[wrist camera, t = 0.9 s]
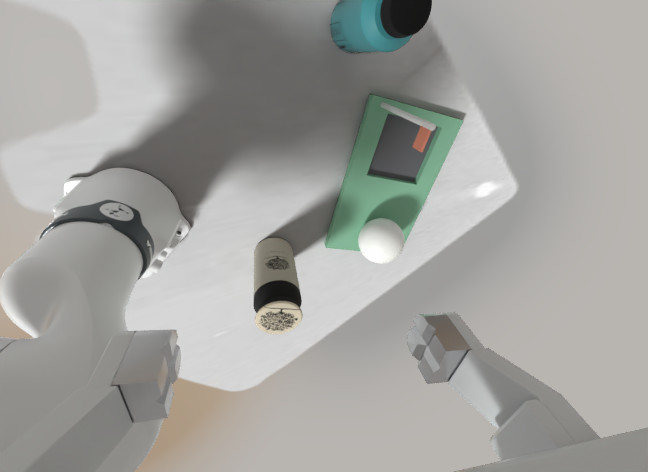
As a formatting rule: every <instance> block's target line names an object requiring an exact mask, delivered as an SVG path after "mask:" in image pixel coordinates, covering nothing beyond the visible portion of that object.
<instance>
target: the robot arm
mask: <svg viewBox="0 0 648 472" xmlns="http://www.w3.org/2000/svg"><path fill="white" fill-rule="evenodd" d="M53 211H54V212H55V216H54V217H55V219H54V220H53V221H52V222H51V223H50V224H49V225H48V226H47V227H46V229H45V230H44V231H43V233H42V234H41V236H40V239H39V240H38V241H37V242H36V243H35V244H34V245H33V246H32V247H30V248H29V249H28V250H27V251H26V252H25V253H24V254H22V255H21V256H20V257H19V258H18V259H17V260H16V261H15V262H13V263H12V264H11V265H10V266H9V267H8V268H7V269H6V270H5V272H4V274H3V275H2V277H1V279H0V303H1V306H2V307H3V309H4V311H5V312H6V314H7V315H8V317H9V318H10V319H11V320H12V321H13V322H14V323H15V324H16V325H17V326H18V327H20V328H21V329H23V330H24V331H25V332H27V333H28V334H29V335H31V336H32V337H33V338H34V339H12V338H5V337H0V472H135V470H136V469H137V468H138V467H139V466H140V464H141V463H142V462H143V460H144V459H145V458H146V456H147V455H148V453H149V452H150V450H151V448H152V446H153V444H154V443H155V441H156V439H157V436H158V434H159V431H160V429H161V425H162V422H163V418H168V414H169V410H170V406H171V403H172V399H173V395H174V393H173V388H172V384H173V383H174V382H175V381H176V380H177V378H178V374H179V369H180V360H181V353H180V347H179V346H178V345H176V342H177V338H178V336H177V332H176V330H150V331H127V327H126V323H125V311H126V306H127V303H128V300H129V298H130V295H131V292H132V290H133V288H134V285H135V283H136V281H137V280H138V279H140V278H147V277H150V276H151V275H152V274H153V273H157V272H158V271H159V269H160V268H161V266H162V264H163V261H164V260H165V259H166V258H167V256H168V255H169V254H170V253H171V252H172V251H173V250H174V248H175V247H176V246H177V245H178V244H179V243H180V241H181V240H182V239H183V238H184V237H185V236H186V234H187V233H188V232H189V230H190V228H191V227H190V224H189V223H188V221H187V220H186V219H185V218H184V217H183V216H182V214H181V212H180V209H179V206H178V203H177V200H176V198H175V197H174V195H173V194H172V192H171V191H170V190H169V189H168V188H167V187H166V186H165V185H164V184H163V183H162V182H160V181H159V180H157V179H156V178H154V177H152V176H151V175H149V174H146V173H144V172H141V171H138V170H134V169H129V168H110V169H106V170H102V171H100V172H98V173H96V174H94V175H92V176H89V177H76V178H70V179H68V180H67V181H66V182H65V183H64V197H63V198H62V199H61V200H60V201H59V202H58V203H57V204H56V205H55V206H54V208H53ZM177 231H180V232H181V233H179V232H177ZM413 322H414V324H415V326H414V327H413V328H411V329H410V330H409V333H408V335H407V344H408V347H409V350H410V352H411V354H412V356H414V357H415V358H416V359H417V360H419V362H418V367H419V369H420V371H421V373H422V375H423V377H424V379H425V381H426V383H427V384H430V383H441V382H448V384H449V385H450V386H451V387H453V388H454V389H455V390H456V391H457V392H458V393H459V394H460V395H461V396H462V397H463V398H464V399H466V400H467V401H468V402H469V403H470V404H471V405H472V406H473V407H474V408H475V409H476V410H477V411H479V412H480V413H481V414H482V415H483V416H484V417H485V418H486V419H487V420H488V421H489V422H491V423H492V424H493V425H494V426H495V427H496V428H497V429H498V431H497V432H496V433H495V434H494V435H493V436H492V437H491V439H490V443H491V445H492V446H493V448H494V450H495V452H496V453H497V455H498V457H499V458H500V460H501V461H499V462H494V463H490V464H485V465H481V466H477V467H473V468H468V469H463V470H459V471H455V472H648V428H644V429H640V430H635V431H631V432H626V433H622V434H617V435H613V436H609V437H604V438H600V437H599V436H598V435H597V434H596V433H595V432H594V431H593V429H592V428H591V427H590V426H589V425H588V424H587V423H586V422H585V421H584V419H583V418H582V417H581V416H580V415H579V414H578V413H577V412H576V410H575V409H574V408H573V407H572V406H571V405H570V404H569V403H568V402H567V400H565V398H564V397H563V396H562V395H561V394H560V393H558V392H557V391H555V390H553V389H552V388H550V387H549V386H547V385H546V384H544V383H542V382H541V381H539V380H538V379H536V378H534V377H533V376H531V375H530V374H528V373H527V372H525V371H524V370H522V369H520V368H519V367H517V366H516V365H514V364H513V363H511V362H509V361H508V360H506V359H505V358H503V357H502V356H500V355H498V354H497V353H495V352H494V351H492V350H491V349H489V348H486V349H485V348H484V346H483V345H482V344H481V343H480V341H479V340H478V339H477V337H476V336H475V335H474V334H473V332H472V331H471V330H470V329H469V327H468V326H467V325H466V323H465V322H464V321H463V320H462V318H461V317H460V316H459V315H458V314H456V313H455V312H453V313H433V314H419V315H418V316H416V317H415V319H414V321H413Z"/></svg>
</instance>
